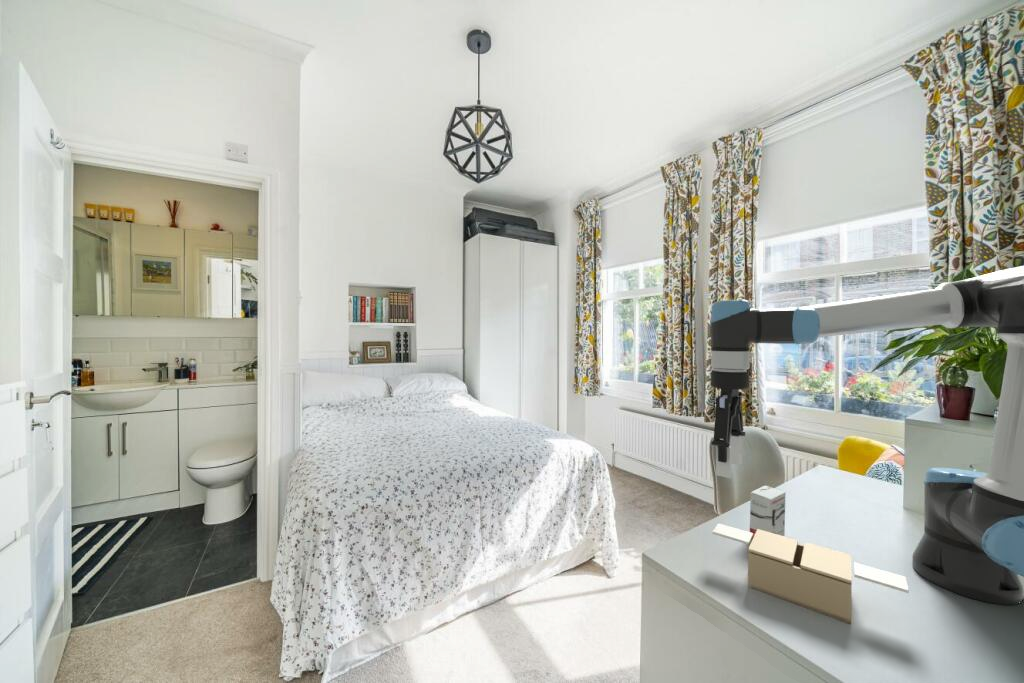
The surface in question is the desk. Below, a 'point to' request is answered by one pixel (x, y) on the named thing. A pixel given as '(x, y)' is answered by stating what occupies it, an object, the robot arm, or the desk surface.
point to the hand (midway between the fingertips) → (729, 469)
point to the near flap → (847, 567)
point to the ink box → (767, 510)
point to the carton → (800, 585)
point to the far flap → (762, 542)
